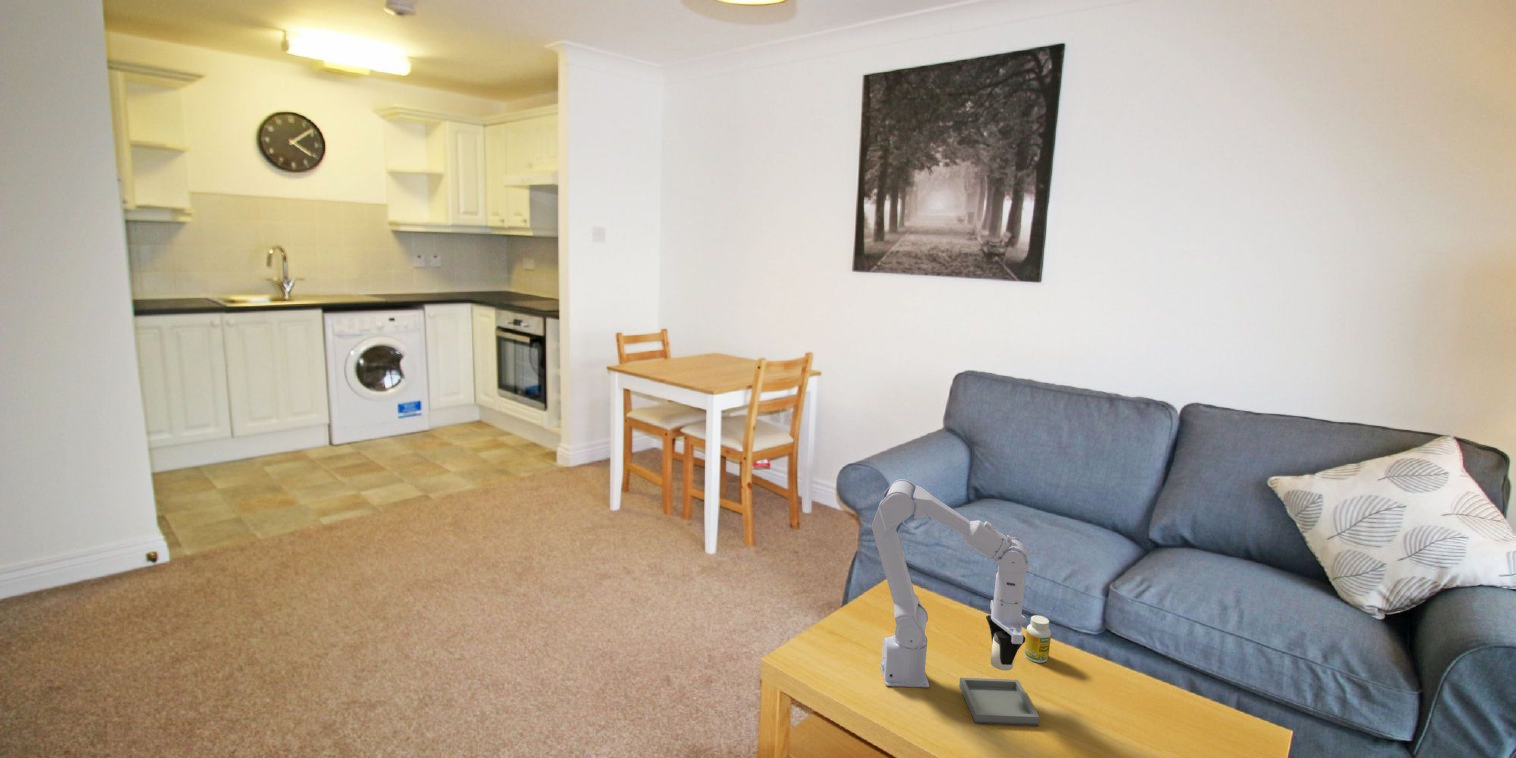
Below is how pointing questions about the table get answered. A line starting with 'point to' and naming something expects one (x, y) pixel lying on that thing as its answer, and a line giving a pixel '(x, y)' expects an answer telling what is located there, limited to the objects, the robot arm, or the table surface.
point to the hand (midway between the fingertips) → (1002, 656)
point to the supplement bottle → (1038, 639)
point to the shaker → (998, 655)
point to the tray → (998, 702)
